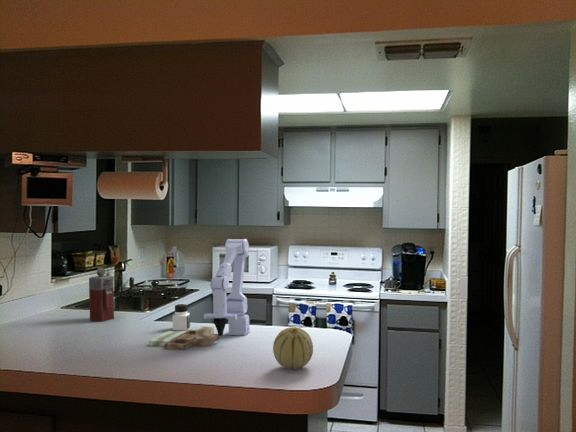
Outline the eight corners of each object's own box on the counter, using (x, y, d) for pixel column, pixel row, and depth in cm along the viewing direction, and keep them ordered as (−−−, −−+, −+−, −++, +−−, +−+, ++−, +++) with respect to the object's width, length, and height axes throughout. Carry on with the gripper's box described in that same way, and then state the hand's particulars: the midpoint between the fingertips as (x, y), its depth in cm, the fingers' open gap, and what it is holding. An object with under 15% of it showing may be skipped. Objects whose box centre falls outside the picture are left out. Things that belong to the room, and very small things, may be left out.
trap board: (223, 335, 240) (223, 330, 240) (202, 350, 214) (202, 345, 214) (171, 333, 245) (170, 329, 245) (144, 348, 219) (144, 343, 219)
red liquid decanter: (106, 322, 275) (104, 269, 274) (89, 320, 279) (88, 268, 279) (117, 318, 283) (116, 267, 283) (101, 317, 287) (100, 266, 287)
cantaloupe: (297, 359, 197) (296, 320, 197) (322, 368, 185) (321, 326, 185) (264, 367, 188) (264, 326, 188) (289, 377, 176) (288, 333, 176)
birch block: (213, 335, 230) (213, 326, 230) (208, 339, 224) (208, 330, 224) (201, 335, 231) (200, 326, 231) (195, 338, 225) (195, 329, 225)
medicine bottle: (187, 330, 251) (186, 305, 251) (172, 330, 251) (172, 305, 251) (190, 327, 258) (189, 303, 258) (176, 327, 258) (175, 303, 258)
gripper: (200, 305, 224) (201, 337, 224) (233, 306, 221) (233, 338, 221) (206, 302, 230) (207, 333, 231) (238, 303, 227) (238, 334, 228)
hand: (220, 335), depth 226 cm, fingers closed
